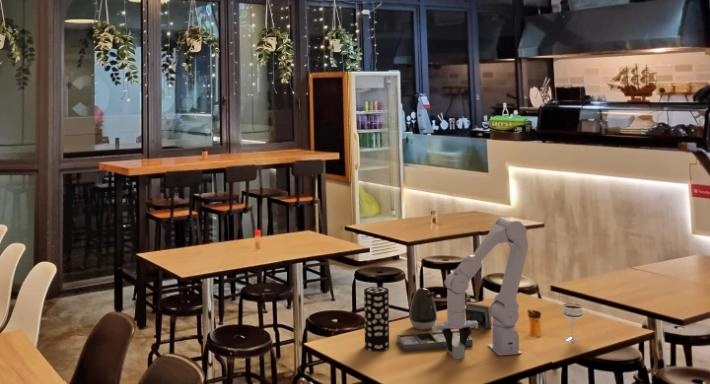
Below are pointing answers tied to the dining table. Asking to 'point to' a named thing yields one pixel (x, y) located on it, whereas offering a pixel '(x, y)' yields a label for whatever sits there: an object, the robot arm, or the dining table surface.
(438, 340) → the rack
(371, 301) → the spotted tube
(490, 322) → the electrical switch
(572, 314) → the wineglass
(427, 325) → the dark egg shaped ornament
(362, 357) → the dining table surface
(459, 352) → the grey rectangular block
